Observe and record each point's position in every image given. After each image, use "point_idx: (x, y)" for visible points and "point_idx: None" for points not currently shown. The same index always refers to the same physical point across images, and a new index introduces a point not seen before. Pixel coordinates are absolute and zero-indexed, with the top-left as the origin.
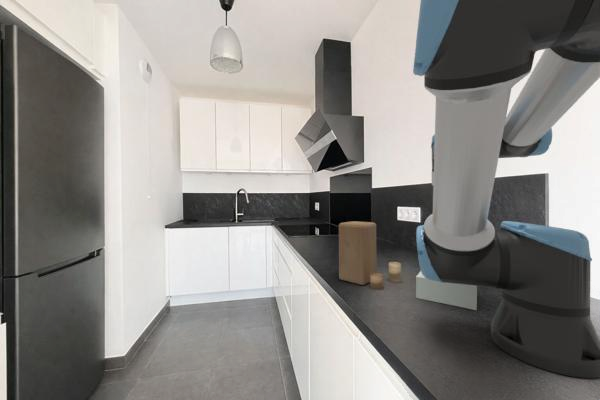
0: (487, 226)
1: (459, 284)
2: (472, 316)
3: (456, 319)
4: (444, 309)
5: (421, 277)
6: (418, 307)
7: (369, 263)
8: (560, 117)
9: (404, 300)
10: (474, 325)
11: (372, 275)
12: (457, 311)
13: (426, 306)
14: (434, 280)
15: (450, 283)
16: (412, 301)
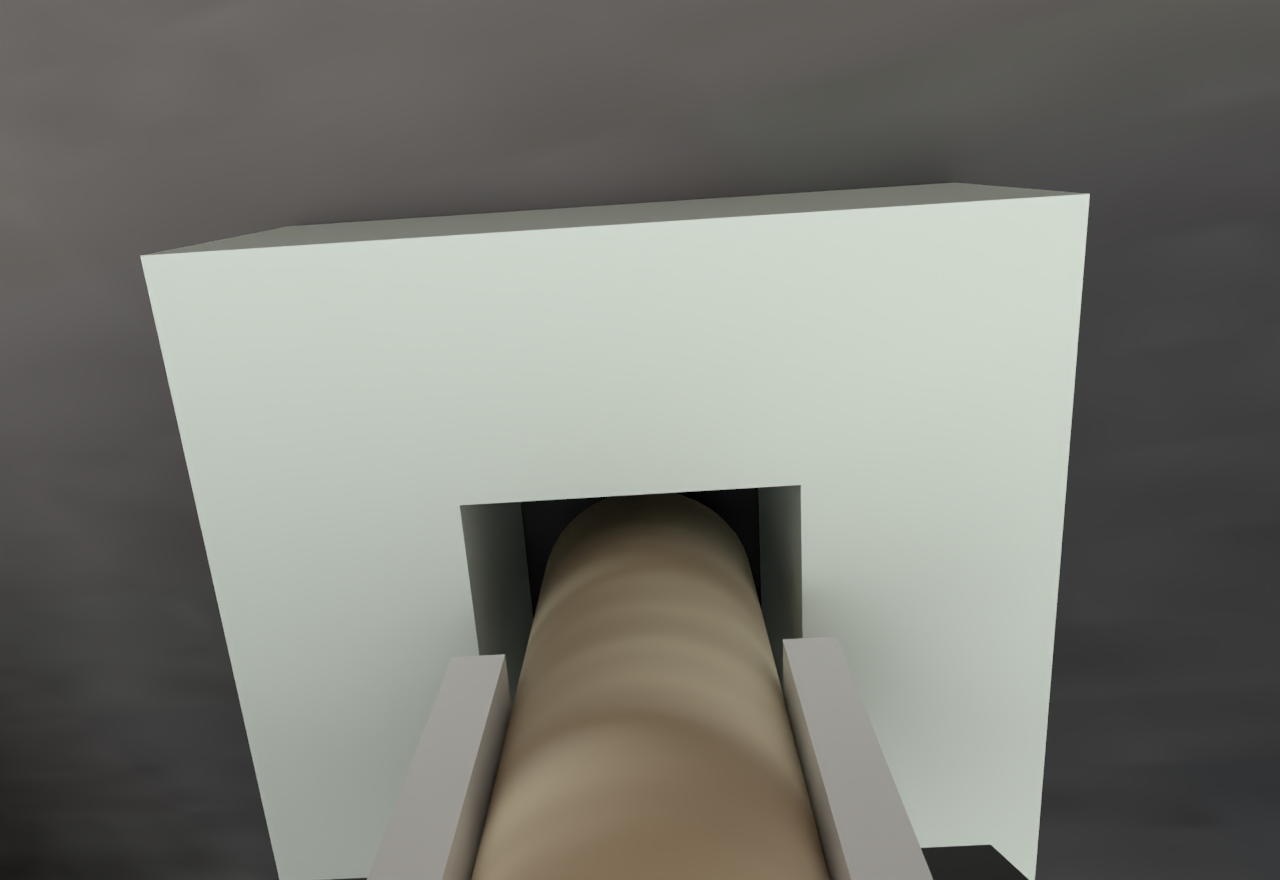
0: None
1: (272, 826)
2: (210, 765)
3: (28, 671)
4: (181, 554)
5: (170, 346)
6: (15, 326)
7: None
8: None
9: (89, 123)
10: (26, 790)
11: None
12: (228, 656)
13: (115, 391)
14: (212, 537)
15: (257, 728)
16: (137, 219)
